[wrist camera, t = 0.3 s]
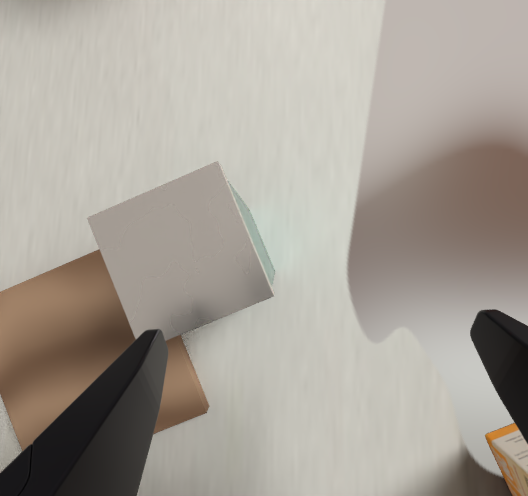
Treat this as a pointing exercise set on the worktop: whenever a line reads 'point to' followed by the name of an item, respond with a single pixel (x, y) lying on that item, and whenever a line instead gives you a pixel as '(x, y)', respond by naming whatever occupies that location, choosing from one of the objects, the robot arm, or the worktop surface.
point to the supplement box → (511, 457)
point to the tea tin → (184, 254)
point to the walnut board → (75, 348)
